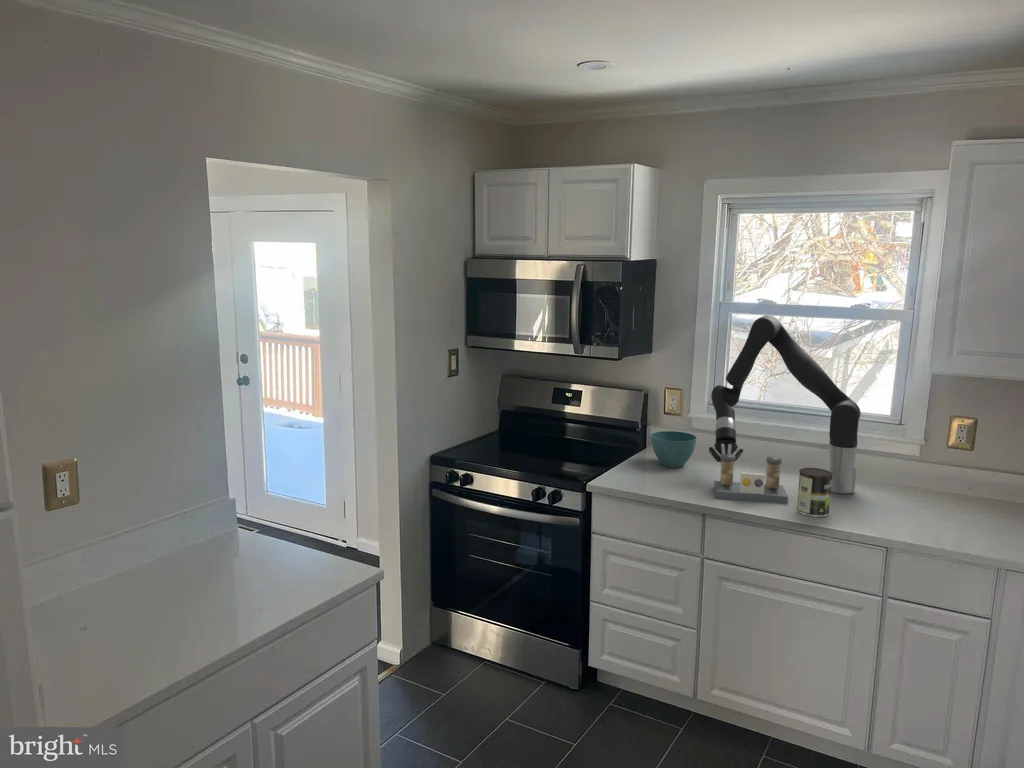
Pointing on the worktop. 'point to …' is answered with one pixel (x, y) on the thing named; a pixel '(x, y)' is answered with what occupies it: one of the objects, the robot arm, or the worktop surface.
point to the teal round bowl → (673, 447)
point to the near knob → (773, 472)
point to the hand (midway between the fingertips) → (726, 471)
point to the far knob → (727, 469)
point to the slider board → (750, 490)
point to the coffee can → (814, 492)
